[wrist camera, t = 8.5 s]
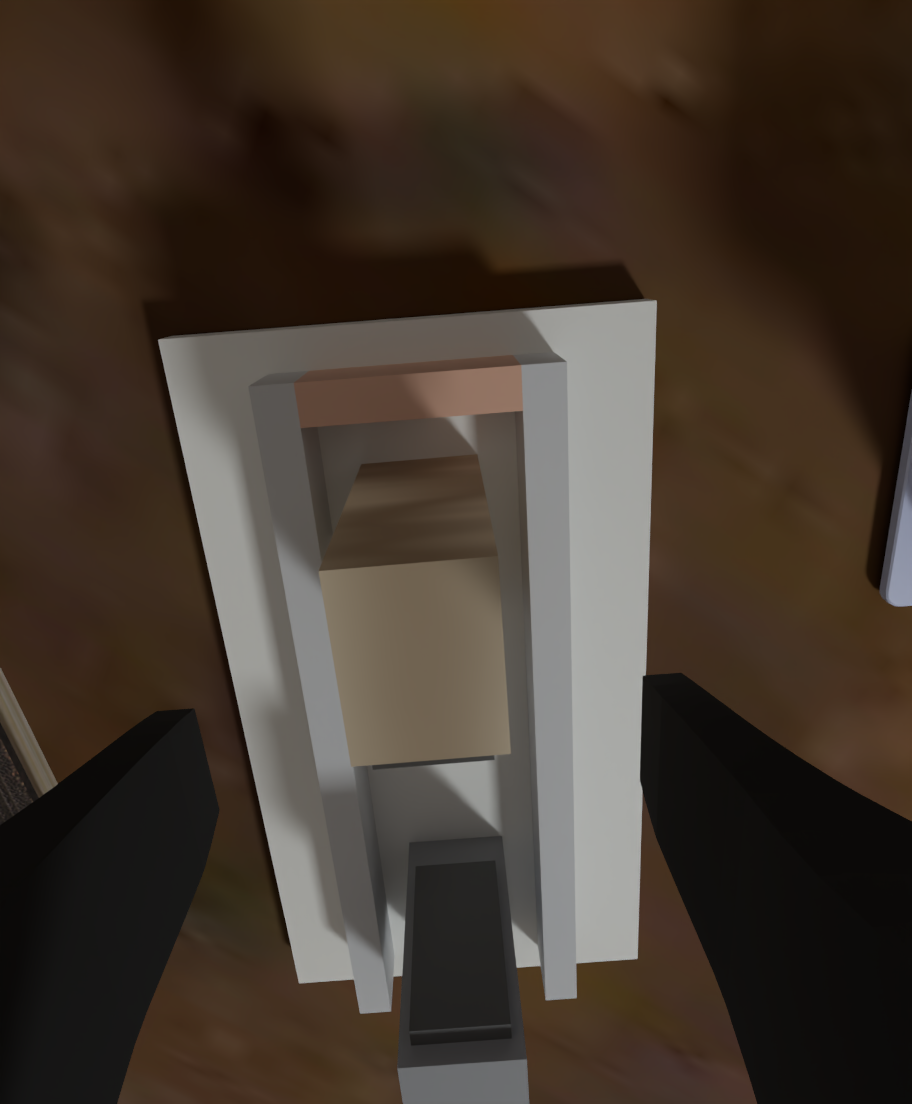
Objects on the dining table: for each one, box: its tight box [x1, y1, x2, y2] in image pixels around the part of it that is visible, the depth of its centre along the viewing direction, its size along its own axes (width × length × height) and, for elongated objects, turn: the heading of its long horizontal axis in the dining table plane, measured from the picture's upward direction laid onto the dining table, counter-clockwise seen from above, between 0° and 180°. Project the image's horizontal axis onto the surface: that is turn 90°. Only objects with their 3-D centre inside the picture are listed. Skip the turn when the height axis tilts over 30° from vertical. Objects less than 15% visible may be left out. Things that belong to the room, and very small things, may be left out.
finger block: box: [319, 454, 511, 770], centre depth 16 cm, size 3×4×7 cm, turn 5°
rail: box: [158, 299, 657, 1104], centre depth 18 cm, size 12×22×8 cm, turn 4°
